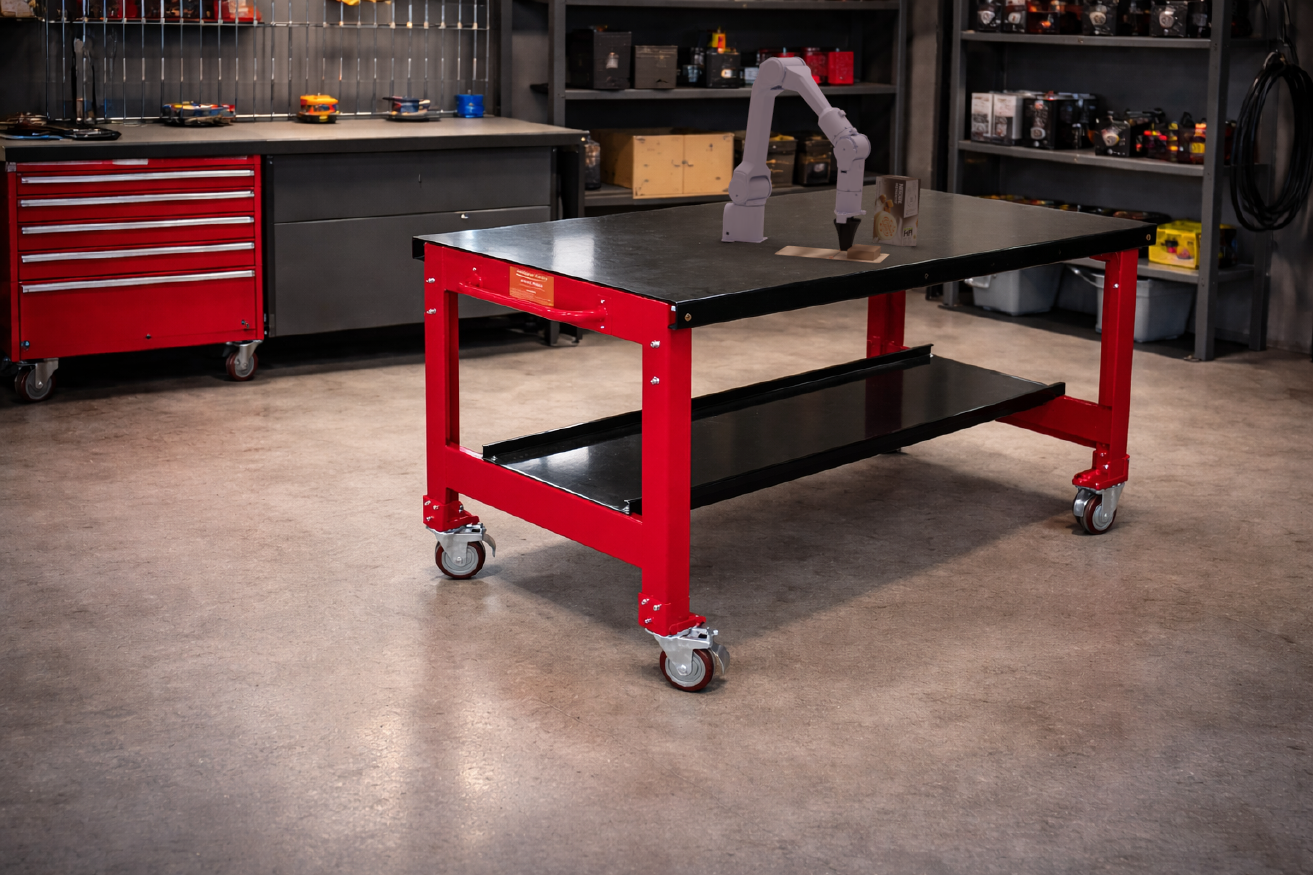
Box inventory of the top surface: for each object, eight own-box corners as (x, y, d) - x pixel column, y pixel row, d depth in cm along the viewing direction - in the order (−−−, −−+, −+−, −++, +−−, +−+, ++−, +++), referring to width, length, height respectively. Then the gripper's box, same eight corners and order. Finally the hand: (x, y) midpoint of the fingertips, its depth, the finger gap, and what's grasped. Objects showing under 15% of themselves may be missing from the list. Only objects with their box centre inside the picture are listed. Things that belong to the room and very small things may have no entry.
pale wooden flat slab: (773, 256, 307) (774, 252, 307) (787, 248, 318) (787, 244, 318) (879, 265, 300) (879, 261, 300) (889, 256, 311) (889, 252, 310)
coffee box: (917, 246, 326) (923, 178, 321) (901, 248, 321) (907, 180, 316) (886, 240, 332) (891, 174, 327) (870, 243, 328) (875, 176, 323)
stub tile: (846, 258, 304) (847, 249, 303) (854, 252, 311) (854, 244, 310) (873, 260, 302) (874, 251, 301) (880, 255, 309) (881, 246, 309)
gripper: (860, 195, 296) (856, 257, 300) (873, 187, 309) (869, 247, 313) (828, 193, 298) (825, 254, 302) (842, 185, 311) (839, 244, 315)
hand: (845, 250), depth 308 cm, fingers closed, pressing on stub tile
